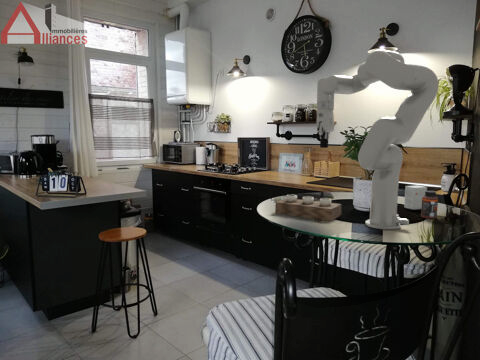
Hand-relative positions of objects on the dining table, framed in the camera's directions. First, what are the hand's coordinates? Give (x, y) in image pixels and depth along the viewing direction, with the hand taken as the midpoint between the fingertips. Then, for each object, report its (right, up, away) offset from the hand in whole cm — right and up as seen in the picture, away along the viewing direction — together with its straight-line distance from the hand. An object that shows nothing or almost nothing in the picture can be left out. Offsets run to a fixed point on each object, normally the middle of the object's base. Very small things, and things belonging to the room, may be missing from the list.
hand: (324, 147), depth 160 cm
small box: (+45, -29, +8) cm, 54 cm away
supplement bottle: (+42, -31, -11) cm, 53 cm away
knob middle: (-8, -29, -5) cm, 30 cm away
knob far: (-15, -28, 0) cm, 32 cm away
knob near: (-2, -29, -9) cm, 31 cm away
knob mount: (-8, -30, -5) cm, 32 cm away
